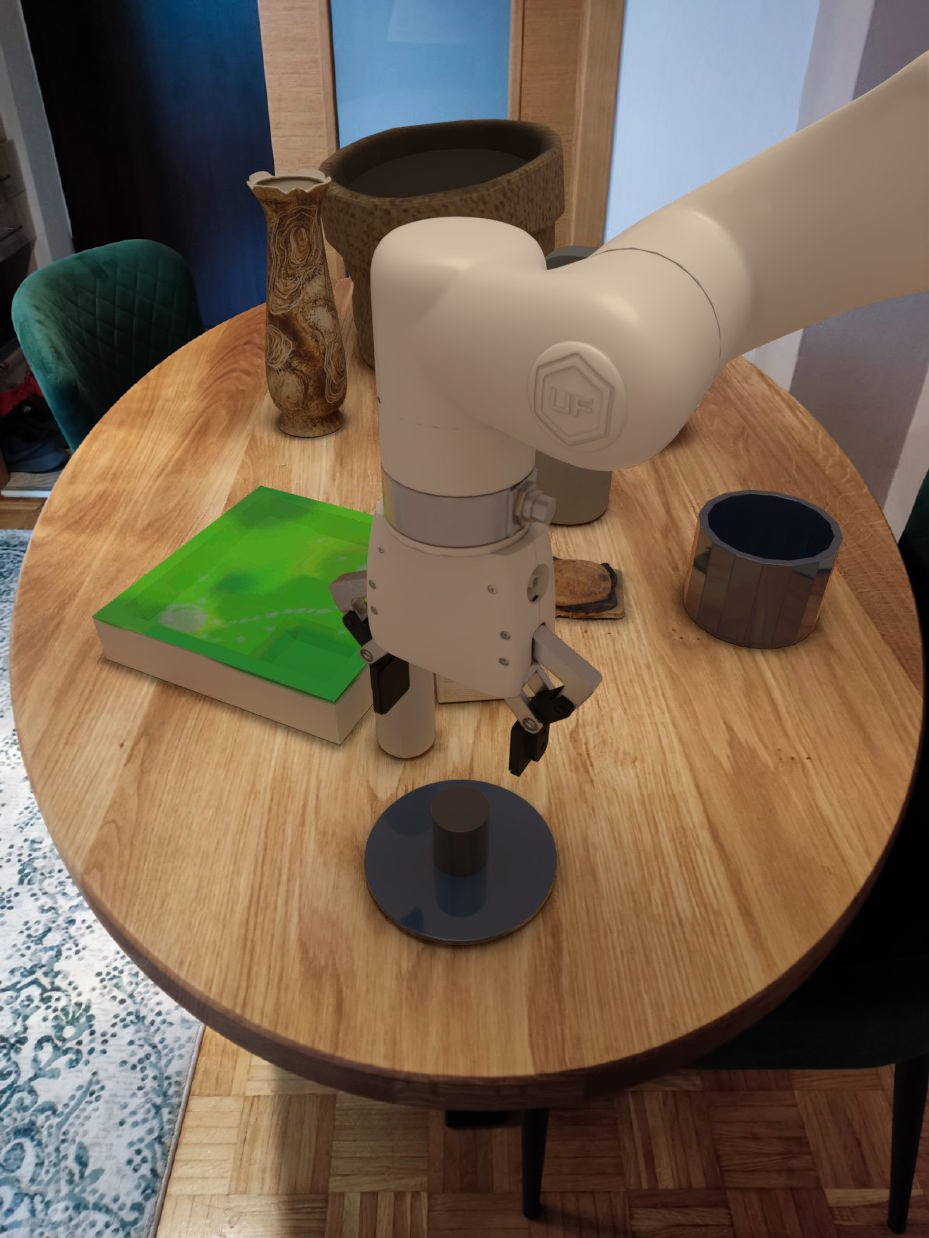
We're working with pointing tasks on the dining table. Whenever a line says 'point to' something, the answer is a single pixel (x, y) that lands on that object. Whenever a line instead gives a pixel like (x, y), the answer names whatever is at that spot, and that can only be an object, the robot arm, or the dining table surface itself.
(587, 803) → the dining table surface
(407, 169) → the pot
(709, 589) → the enamel pot
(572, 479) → the water bottle
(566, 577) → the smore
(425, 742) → the beverage can
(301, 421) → the vase
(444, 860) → the lid
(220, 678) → the flat green box
